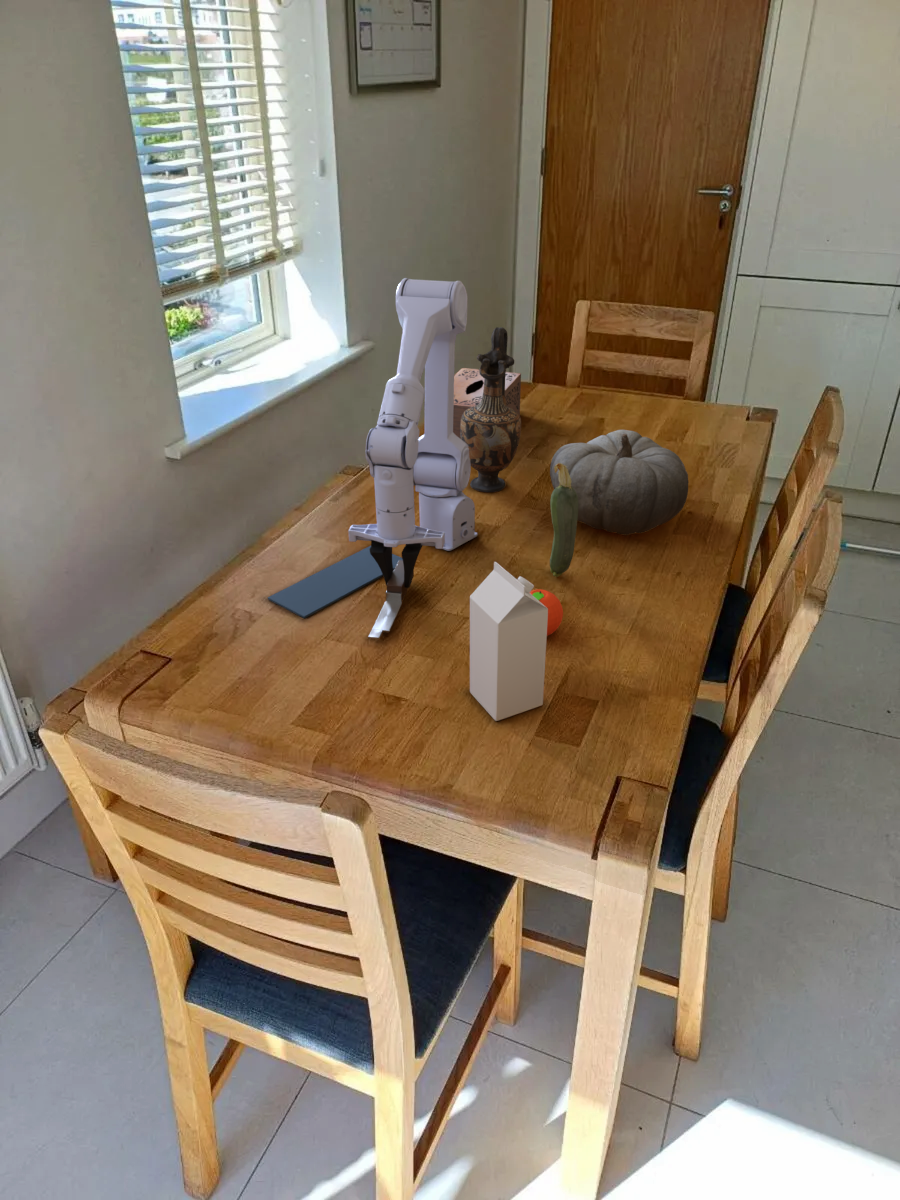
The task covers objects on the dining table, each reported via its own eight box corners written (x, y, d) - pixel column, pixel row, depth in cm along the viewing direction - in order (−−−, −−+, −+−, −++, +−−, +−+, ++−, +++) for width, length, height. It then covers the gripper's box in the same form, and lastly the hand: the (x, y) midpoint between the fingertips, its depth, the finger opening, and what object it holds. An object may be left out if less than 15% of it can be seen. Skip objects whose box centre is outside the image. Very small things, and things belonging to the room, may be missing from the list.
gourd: (519, 518, 155) (539, 423, 148) (568, 489, 176) (588, 404, 169) (654, 563, 146) (682, 463, 139) (689, 526, 167) (715, 438, 160)
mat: (408, 562, 148) (408, 560, 147) (304, 618, 133) (304, 616, 133) (371, 546, 153) (371, 544, 152) (267, 599, 138) (267, 597, 138)
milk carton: (496, 722, 111) (498, 594, 101) (469, 692, 117) (469, 568, 107) (543, 706, 114) (550, 579, 104) (515, 677, 120) (519, 554, 110)
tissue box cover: (488, 453, 189) (488, 408, 184) (425, 445, 193) (424, 401, 188) (519, 414, 210) (521, 373, 204) (462, 408, 214) (462, 367, 209)
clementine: (545, 655, 124) (547, 612, 120) (502, 641, 127) (503, 599, 123) (569, 628, 130) (572, 587, 126) (528, 615, 133) (529, 575, 129)
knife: (398, 575, 142) (398, 560, 141) (414, 576, 142) (414, 561, 140) (368, 638, 127) (367, 622, 125) (385, 640, 126) (384, 623, 125)
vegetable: (575, 573, 144) (584, 459, 133) (570, 586, 140) (578, 470, 130) (549, 569, 145) (556, 456, 135) (543, 582, 142) (549, 466, 131)
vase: (451, 492, 172) (450, 337, 156) (474, 468, 182) (475, 321, 166) (508, 501, 168) (512, 343, 152) (528, 476, 178) (534, 326, 162)
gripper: (340, 512, 128) (346, 592, 135) (437, 520, 125) (439, 600, 133) (353, 492, 134) (359, 570, 141) (447, 499, 131) (448, 577, 138)
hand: (398, 583), depth 137 cm, fingers closed on knife, 2 cm apart
